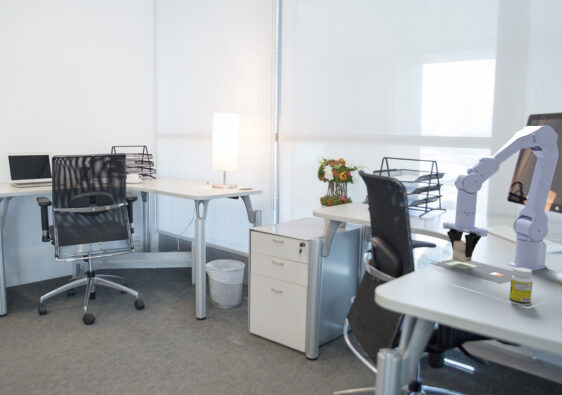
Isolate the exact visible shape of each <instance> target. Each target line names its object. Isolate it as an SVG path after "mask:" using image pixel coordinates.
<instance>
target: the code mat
mask: <svg viewBox="0 0 562 395" xmlns="http://www.w3.org/2000/svg"><path fill="white" fill-rule="evenodd" d="M440 261H441V262H440ZM440 261H436V262H431V263H429V265H432V266H435V267H436V266H437V267H440V268H444V269H447V270H450V271H454V272H458V273H461V274H466V275H468V276H473V277H476V278H478V279H483V280H486V281H491V282H493V283H496V284H500V285H501V284H505V283H509V282H510V283H511V278H512V276H513V275H514V274H513V271H514V270H510V269H507V268H503V267H502V268H501V267H497V266H495V265H490V264H487V263H484V262H483V263H482V262H479V261H475V260H472V259H471V261H470V262H464V263H463V262H459V261H455V260H452V258H450V259H447V260H440ZM435 263H436V264H435ZM433 264H434V265H433Z"/></svg>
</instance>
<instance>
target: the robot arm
mask: <svg viewBox="0 0 562 395" xmlns="http://www.w3.org/2000/svg"><path fill="white" fill-rule="evenodd" d="M558 137H559V134H558V133H557V132H556V131H555V129H554V128H553V127H551V126H550V125H547V124H545V125H538V126H536V125H535V126H532V125H527V126H525V127H522V129H521V130H519V131H517V132H516V133H515V134H514V136H513V137H511V139H509V140H508V141H507V142H506V143H505V144H504V145H503V146H502V147H500V148H499V149H498V150H497V151H496V152H495V153H494V154H493V155H491V156H486V155H485V157H480V158H479V159H478V162H477V163H476V164H474V165H473V166H471V167H470V168H468V169H466V172H464V173H460V174H459V175H458V176H457V178H456V180H455V181H454V186H455V188H456V189H457V194H456V195H457V196H456V207H455V221H454V222H449V221H447V222H446V221H445V222H443V223H442V229H444V230H448V231H447V232H446V234H447V236H448V239H449V240H450V243H451V248H452V250H453V245H454V241H457V240H462V238H463V234H464V238H465V241H466V257H472V258H473V253H474V250H475V248H476V246H477V244H478V242H479V241H480V240H481V239H482V238H483V237H484V238H485V237H488V229H485V228H480V227H477V226H475V225H476V214H477V202H478V192H479V191H480V190H481V189H482V187H483V184H484V183H485V182H486V181H488V180H489V179H490V178H491V177H492V176H494V175H495V174H496V173H498V172H499V171H500V165H501V164H503V163H504V162H505V161H507V160H508V159H509V158H511V157H512V156H513V155H515V154H516V153H518V152H519V151H520V150H523V149H529V150H530V151H531V152H532V153H533V154H534V155H535V156H536V158H537V159H536V163H535V167H534V171H533V175H532V179H531V182H530V187H529V191H528V195H527V198H526V201H525V206H524V207H523V208H522V209H521V210H520V211H519V212H518V216H517V217H516V218H515V220H514V221H513V225H512V226H513V230H514V232H515V233H516V238H515V249H514V250H515V251H514V260H513V262H510V263H508V264H507V265H509V266H512V267H514V268H516V267H521V268H527V269H530V270H532V272H534V271H537V270H541V269H546V268H548V265H546V256H547V244H546V242H545V241H544V239H546V237H547V236H548V234H549V227H548V225H549V224H548V221H549V217H548V215H547V213H546V212H545V209H546V205H547V202H548V199H549V198H548V197H549V195H550V190H551V186H552V183H553V179H554V175H555V171H556V167H557V164H558V160H559V156H560V154H559V153H560V152H559V148H558V142H557V141H558ZM465 233H466V234H465Z"/></svg>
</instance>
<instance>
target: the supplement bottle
mask: <svg viewBox="0 0 562 395" xmlns="http://www.w3.org/2000/svg"><path fill="white" fill-rule="evenodd" d="M512 271H513V274H514V275H513V276H512V278H511V281H510V289H509V290H510V291H509V302H510V303H511V304H513V305H516V306H522V307H524V306H529V305H531V304H532V303H531V302H532V294H533V282H534V281H533V280H534V279H533V277H532V276H533V271H532V270H530V269H527V268H521V267H514V268H513V270H512Z"/></svg>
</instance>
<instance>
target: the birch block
mask: <svg viewBox="0 0 562 395" xmlns="http://www.w3.org/2000/svg"><path fill="white" fill-rule="evenodd" d="M472 258H473V256H472V257H466V240H464V239H461V240H457V241H454V245H453V249H452V258H451V259H452V260H455V261H459V262H463V263H464V262H470V261H471V260H472Z"/></svg>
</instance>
